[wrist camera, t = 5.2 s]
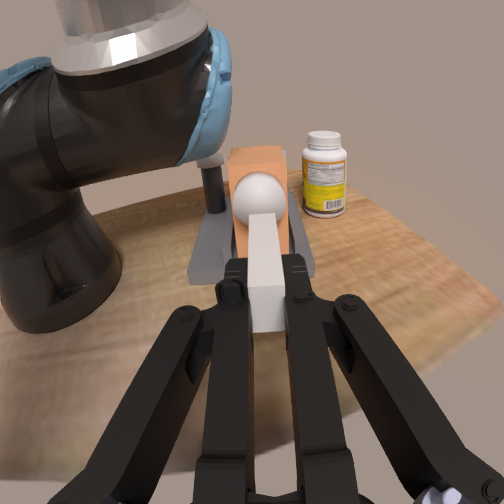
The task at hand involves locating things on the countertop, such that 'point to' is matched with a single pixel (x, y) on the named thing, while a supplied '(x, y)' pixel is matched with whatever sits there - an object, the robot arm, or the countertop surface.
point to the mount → (224, 243)
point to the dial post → (213, 182)
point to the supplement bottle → (324, 175)
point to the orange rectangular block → (258, 191)
